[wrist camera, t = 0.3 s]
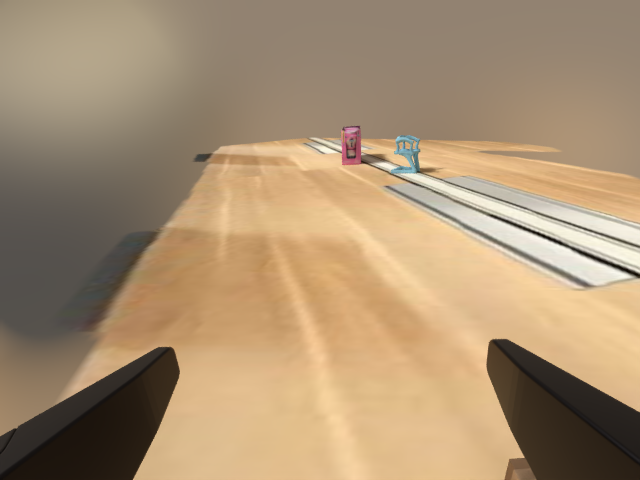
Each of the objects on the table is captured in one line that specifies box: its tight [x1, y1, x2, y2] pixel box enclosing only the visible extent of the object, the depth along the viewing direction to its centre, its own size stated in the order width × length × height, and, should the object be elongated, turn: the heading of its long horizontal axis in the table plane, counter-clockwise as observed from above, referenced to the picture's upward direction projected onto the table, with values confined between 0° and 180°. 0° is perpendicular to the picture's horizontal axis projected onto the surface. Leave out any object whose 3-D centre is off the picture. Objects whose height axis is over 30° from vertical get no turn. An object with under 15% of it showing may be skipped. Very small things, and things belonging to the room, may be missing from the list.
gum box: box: [341, 126, 361, 165], centre depth 137 cm, size 24×8×14 cm, turn 174°
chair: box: [391, 135, 420, 173], centre depth 108 cm, size 8×8×12 cm
